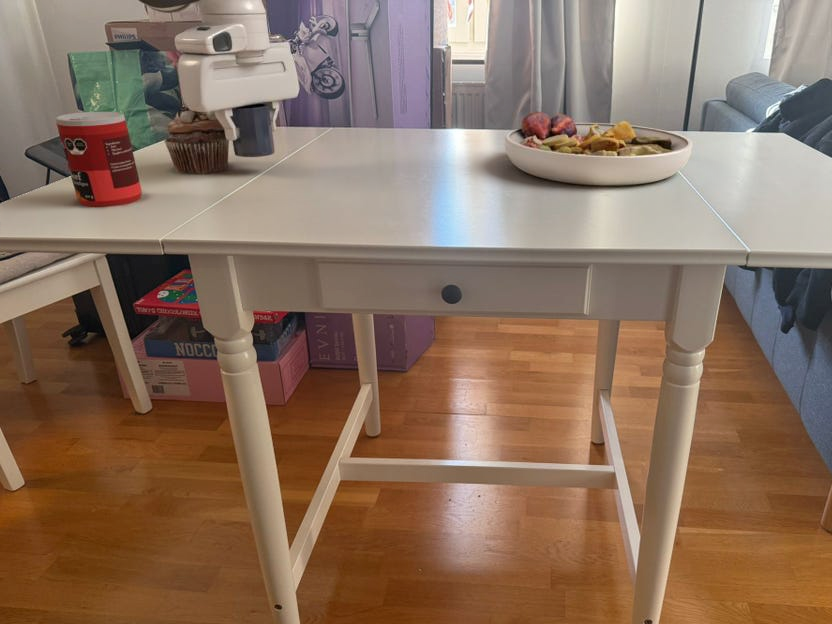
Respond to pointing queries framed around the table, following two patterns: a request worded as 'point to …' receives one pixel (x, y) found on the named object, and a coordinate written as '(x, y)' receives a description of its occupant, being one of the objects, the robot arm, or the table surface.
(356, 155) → the table surface
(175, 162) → the cupcake
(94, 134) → the canned food
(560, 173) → the bowl
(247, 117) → the pot
